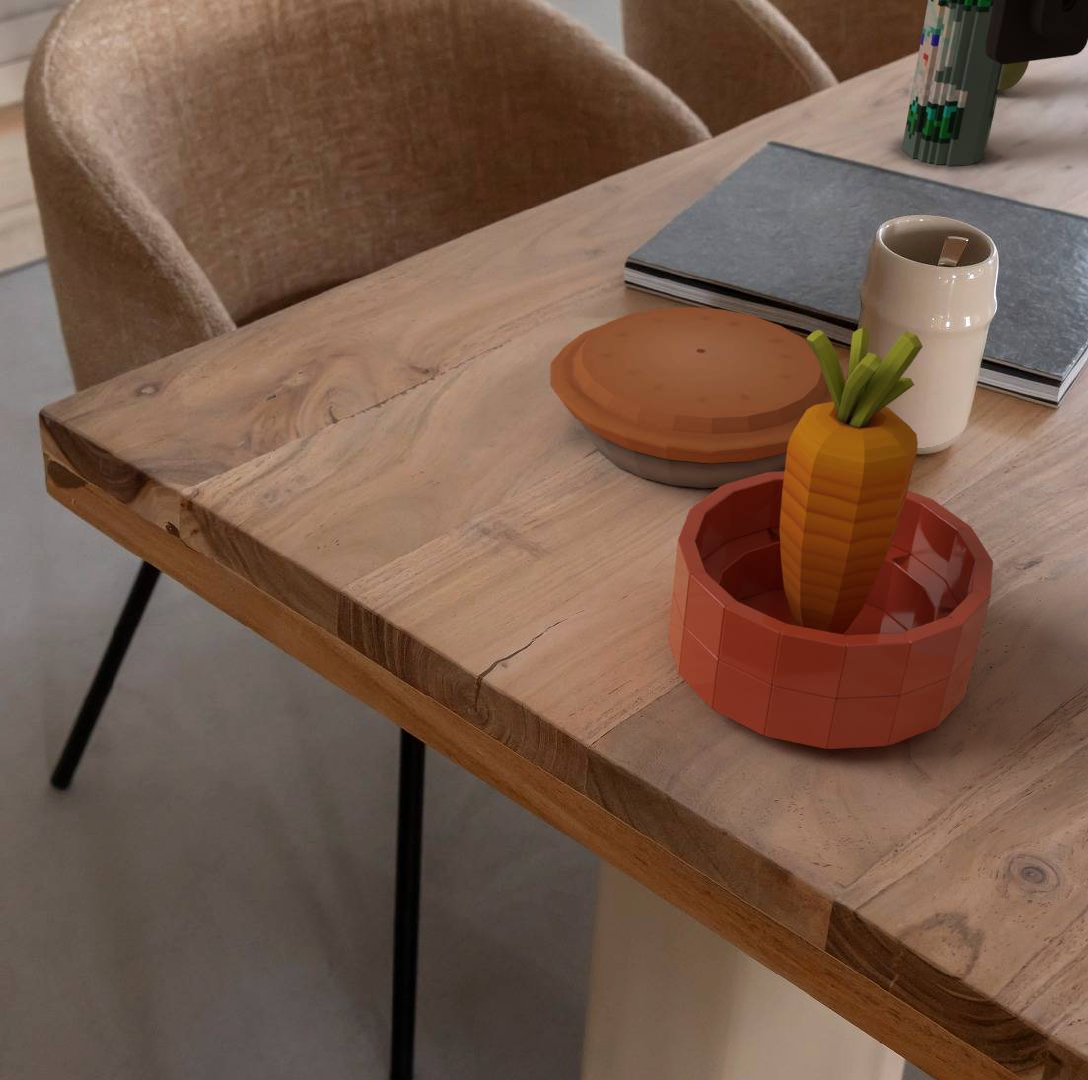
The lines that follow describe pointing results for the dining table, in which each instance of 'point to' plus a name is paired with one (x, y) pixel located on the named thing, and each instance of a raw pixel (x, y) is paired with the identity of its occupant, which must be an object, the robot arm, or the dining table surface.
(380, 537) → the dining table surface
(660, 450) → the pie
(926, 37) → the can
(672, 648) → the bowl
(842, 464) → the carrot
